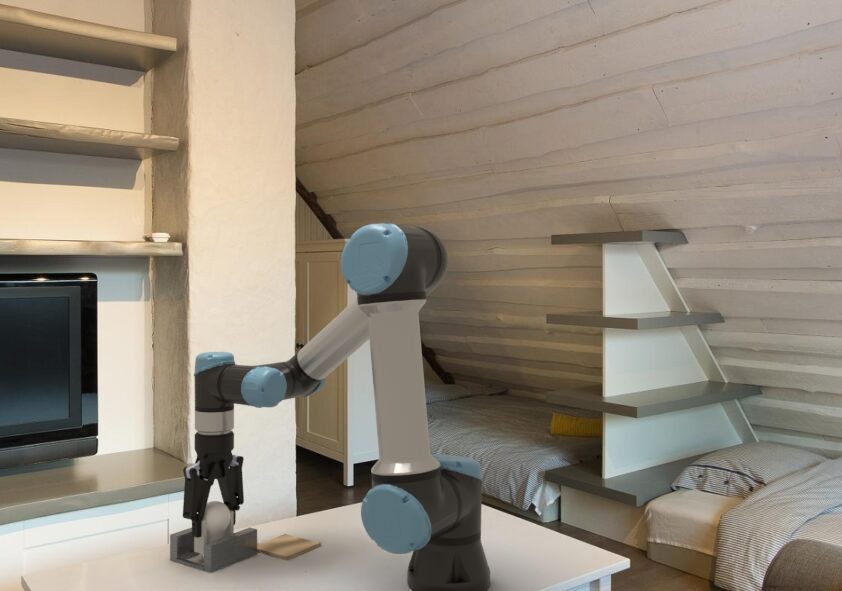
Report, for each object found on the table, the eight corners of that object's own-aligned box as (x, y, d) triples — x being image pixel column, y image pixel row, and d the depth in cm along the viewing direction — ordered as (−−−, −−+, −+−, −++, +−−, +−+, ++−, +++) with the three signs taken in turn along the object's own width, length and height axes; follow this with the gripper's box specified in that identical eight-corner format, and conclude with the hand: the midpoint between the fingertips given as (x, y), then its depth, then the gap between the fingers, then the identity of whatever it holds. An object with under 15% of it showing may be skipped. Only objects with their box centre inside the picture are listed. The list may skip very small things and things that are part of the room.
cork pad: (320, 545, 164) (320, 542, 164) (287, 559, 156) (287, 556, 156) (284, 536, 170) (284, 533, 170) (250, 549, 162) (250, 547, 161)
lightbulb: (221, 564, 154) (222, 507, 153) (191, 561, 155) (191, 505, 155) (236, 552, 160) (236, 498, 159) (206, 550, 161) (206, 496, 161)
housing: (257, 554, 159) (257, 529, 159) (210, 572, 149) (211, 546, 149) (216, 543, 165) (217, 519, 165) (170, 560, 155) (170, 534, 155)
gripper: (237, 421, 167) (236, 531, 167) (161, 436, 151) (161, 557, 151) (263, 425, 163) (262, 537, 163) (188, 441, 147) (188, 566, 147)
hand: (214, 547), depth 157 cm, fingers closed on lightbulb, 6 cm apart
